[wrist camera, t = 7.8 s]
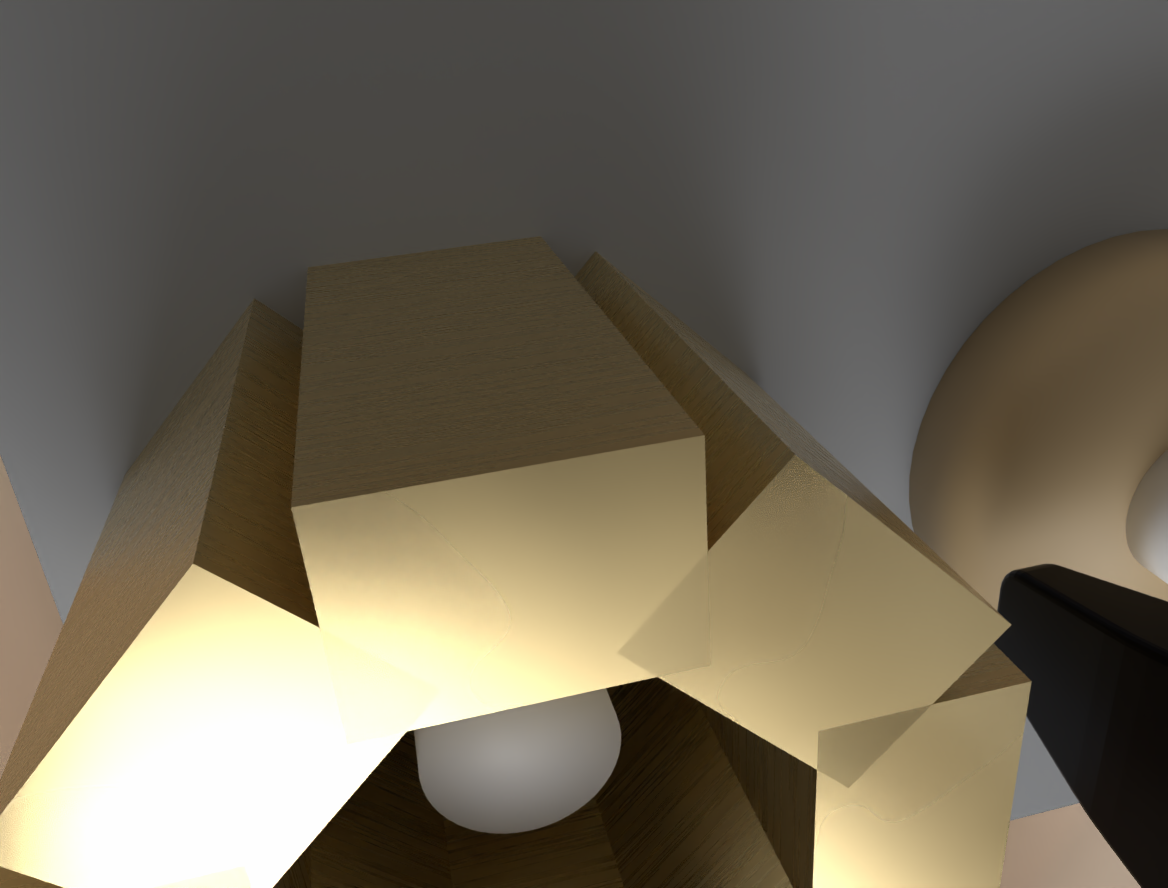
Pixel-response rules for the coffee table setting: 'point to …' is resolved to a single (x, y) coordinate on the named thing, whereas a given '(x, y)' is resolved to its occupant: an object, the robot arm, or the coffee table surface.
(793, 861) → the gear
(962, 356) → the carrier board
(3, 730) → the coffee table surface
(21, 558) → the coffee table surface
